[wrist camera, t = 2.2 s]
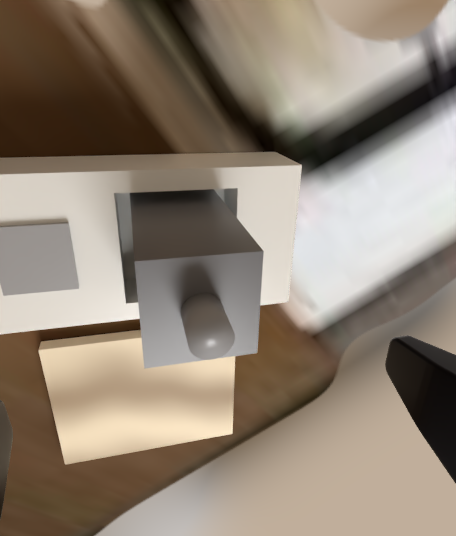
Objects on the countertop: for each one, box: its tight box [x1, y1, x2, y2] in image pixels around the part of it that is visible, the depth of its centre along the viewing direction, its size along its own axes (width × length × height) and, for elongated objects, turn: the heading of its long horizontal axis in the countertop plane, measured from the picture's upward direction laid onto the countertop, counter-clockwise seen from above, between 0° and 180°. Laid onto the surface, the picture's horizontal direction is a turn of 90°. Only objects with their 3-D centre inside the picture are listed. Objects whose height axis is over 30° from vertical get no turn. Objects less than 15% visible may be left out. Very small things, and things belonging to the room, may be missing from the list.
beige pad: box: [39, 330, 235, 465], centre depth 25 cm, size 9×11×1 cm
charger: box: [130, 189, 264, 369], centre depth 16 cm, size 4×4×10 cm
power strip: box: [0, 152, 302, 334], centre depth 18 cm, size 7×17×4 cm, turn 89°
